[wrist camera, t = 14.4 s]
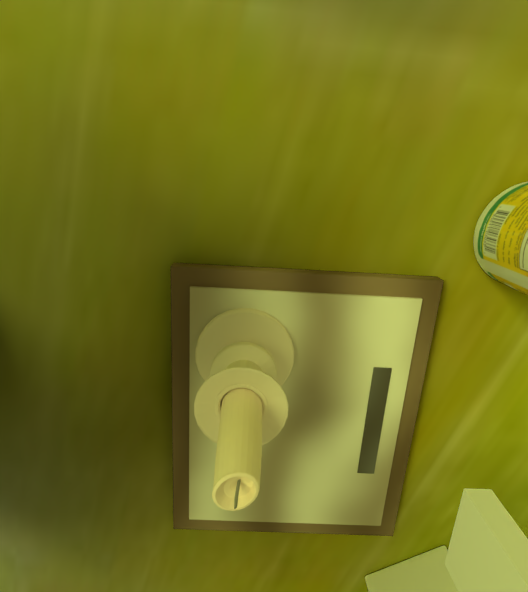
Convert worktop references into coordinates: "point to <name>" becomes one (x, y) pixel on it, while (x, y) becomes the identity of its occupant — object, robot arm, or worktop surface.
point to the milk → (414, 575)
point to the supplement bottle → (505, 238)
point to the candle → (241, 397)
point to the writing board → (310, 395)
